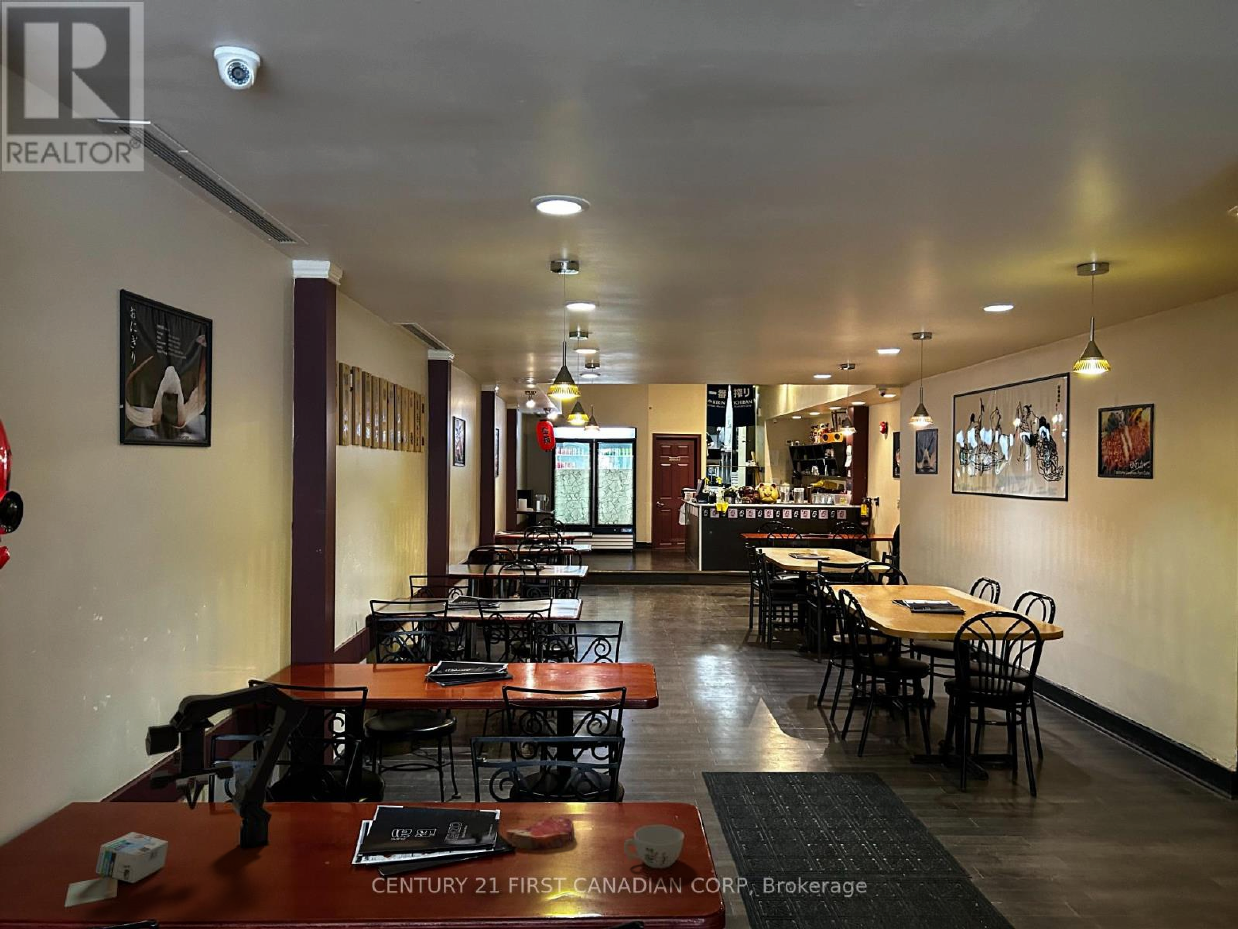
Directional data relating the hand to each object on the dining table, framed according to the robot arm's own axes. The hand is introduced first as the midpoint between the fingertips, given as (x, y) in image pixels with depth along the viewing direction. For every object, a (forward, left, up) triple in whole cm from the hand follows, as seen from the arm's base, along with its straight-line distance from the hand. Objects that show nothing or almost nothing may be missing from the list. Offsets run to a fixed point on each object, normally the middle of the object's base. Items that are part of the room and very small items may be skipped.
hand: (192, 809), depth 215 cm
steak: (-82, +33, -14) cm, 90 cm away
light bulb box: (+9, +5, -10) cm, 14 cm away
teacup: (-102, +57, -13) cm, 118 cm away
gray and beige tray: (+16, +7, -13) cm, 22 cm away
